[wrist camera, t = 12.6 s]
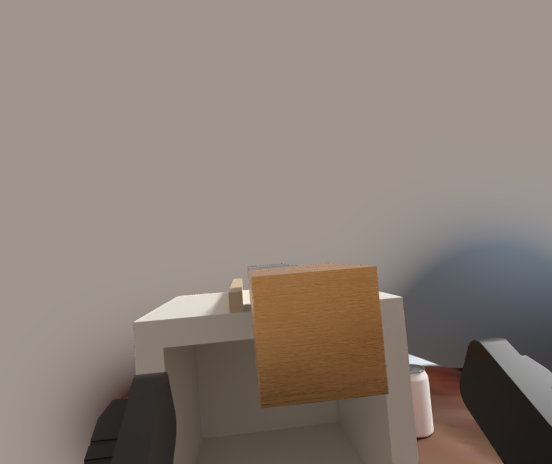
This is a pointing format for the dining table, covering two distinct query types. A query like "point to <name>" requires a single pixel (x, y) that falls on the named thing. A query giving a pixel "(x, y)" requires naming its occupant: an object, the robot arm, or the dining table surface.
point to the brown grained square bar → (316, 333)
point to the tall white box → (246, 399)
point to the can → (421, 401)
